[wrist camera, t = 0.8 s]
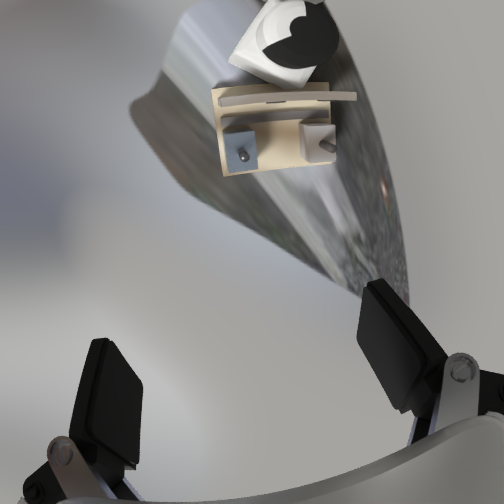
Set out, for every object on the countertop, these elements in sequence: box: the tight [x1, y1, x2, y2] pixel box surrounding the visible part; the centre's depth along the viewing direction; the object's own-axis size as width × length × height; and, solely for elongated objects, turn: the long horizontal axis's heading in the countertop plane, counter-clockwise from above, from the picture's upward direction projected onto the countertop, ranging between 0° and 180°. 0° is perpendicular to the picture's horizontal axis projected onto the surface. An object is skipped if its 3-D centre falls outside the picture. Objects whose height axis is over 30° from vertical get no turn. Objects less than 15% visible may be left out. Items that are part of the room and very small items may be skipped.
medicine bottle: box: [228, 0, 339, 90], centre depth 20 cm, size 7×7×12 cm
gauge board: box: [211, 82, 357, 177], centre depth 26 cm, size 10×13×8 cm
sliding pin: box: [222, 127, 258, 173], centre depth 27 cm, size 4×3×6 cm
